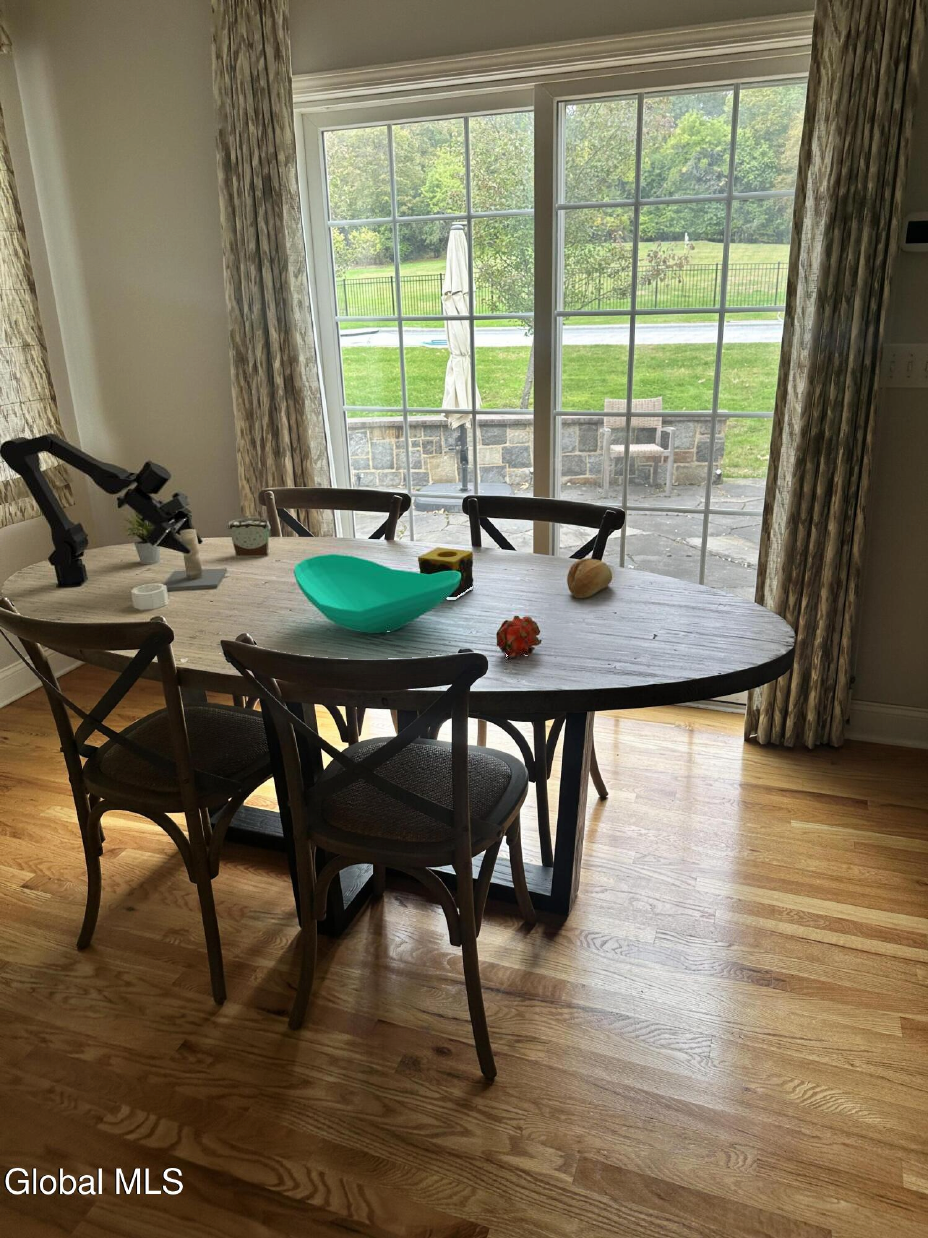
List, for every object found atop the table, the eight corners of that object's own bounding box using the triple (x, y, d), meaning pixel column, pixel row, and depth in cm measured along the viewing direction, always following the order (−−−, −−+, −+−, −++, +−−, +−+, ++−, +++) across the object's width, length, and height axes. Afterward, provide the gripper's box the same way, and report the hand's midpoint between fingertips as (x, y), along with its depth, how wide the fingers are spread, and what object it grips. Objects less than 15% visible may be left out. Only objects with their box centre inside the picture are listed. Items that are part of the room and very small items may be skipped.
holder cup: (131, 610, 205) (128, 594, 204) (139, 599, 212) (137, 584, 211) (163, 608, 205) (160, 592, 204) (171, 598, 213) (168, 582, 211)
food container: (279, 550, 250) (275, 516, 247) (272, 556, 245) (268, 522, 241) (238, 550, 252) (234, 517, 248) (231, 556, 246) (226, 522, 242)
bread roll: (557, 598, 203) (557, 566, 200) (582, 580, 215) (582, 550, 212) (595, 604, 198) (596, 571, 196) (618, 585, 210) (619, 554, 208)
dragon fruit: (534, 650, 178) (510, 680, 169) (503, 624, 179) (477, 652, 169) (555, 625, 172) (532, 654, 163) (522, 598, 173) (497, 626, 164)
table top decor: (269, 634, 187) (262, 576, 183) (346, 596, 210) (341, 543, 205) (421, 666, 168) (418, 602, 164) (488, 620, 190) (487, 563, 186)
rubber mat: (161, 591, 218) (161, 587, 218) (174, 574, 231) (174, 570, 231) (217, 587, 219) (216, 584, 219) (227, 571, 232) (226, 568, 232)
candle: (418, 596, 208) (416, 557, 204) (438, 584, 216) (436, 546, 212) (455, 602, 203) (453, 561, 200) (474, 589, 211) (473, 550, 208)
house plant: (120, 558, 248) (110, 503, 242) (170, 551, 253) (161, 496, 248) (124, 571, 236) (114, 513, 230) (176, 563, 241) (167, 506, 235)
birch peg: (190, 580, 222) (182, 533, 218) (184, 577, 225) (177, 530, 221) (205, 577, 224) (198, 530, 220) (199, 574, 227) (192, 528, 223)
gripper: (151, 492, 207) (202, 535, 211) (178, 476, 225) (225, 517, 228) (125, 524, 211) (175, 566, 214) (154, 506, 228) (200, 546, 231)
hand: (195, 547), depth 222 cm, fingers open, 9 cm apart
